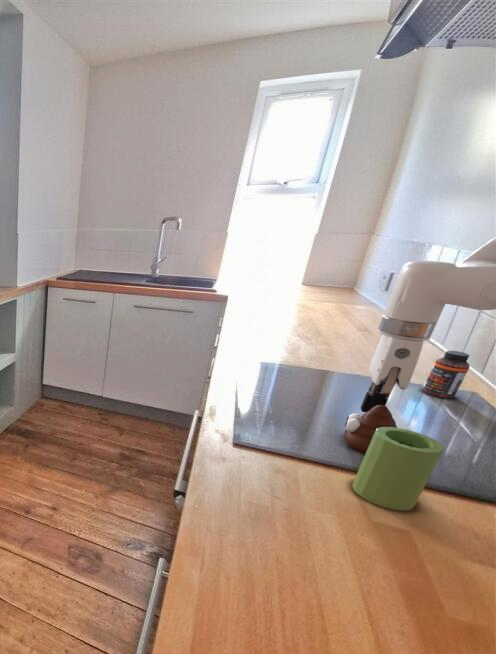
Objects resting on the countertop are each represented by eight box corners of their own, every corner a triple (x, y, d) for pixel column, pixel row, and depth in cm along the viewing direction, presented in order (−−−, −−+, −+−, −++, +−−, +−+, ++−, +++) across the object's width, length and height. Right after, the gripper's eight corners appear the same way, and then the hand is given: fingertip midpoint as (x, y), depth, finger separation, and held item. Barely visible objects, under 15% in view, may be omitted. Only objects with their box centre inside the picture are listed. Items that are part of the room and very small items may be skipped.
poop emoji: (393, 463, 78) (413, 419, 74) (336, 446, 84) (352, 405, 80) (395, 443, 85) (414, 402, 81) (342, 429, 90) (357, 390, 86)
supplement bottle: (415, 390, 108) (434, 350, 104) (430, 388, 110) (449, 347, 106) (445, 400, 103) (465, 357, 99) (460, 397, 105) (481, 355, 100)
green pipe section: (372, 477, 74) (396, 424, 70) (426, 505, 67) (456, 447, 63) (341, 485, 72) (363, 430, 68) (393, 514, 65) (422, 456, 61)
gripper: (443, 340, 72) (401, 431, 79) (423, 322, 83) (387, 403, 91) (386, 333, 76) (351, 421, 83) (374, 317, 87) (344, 395, 95)
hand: (370, 411), depth 87 cm, fingers closed
